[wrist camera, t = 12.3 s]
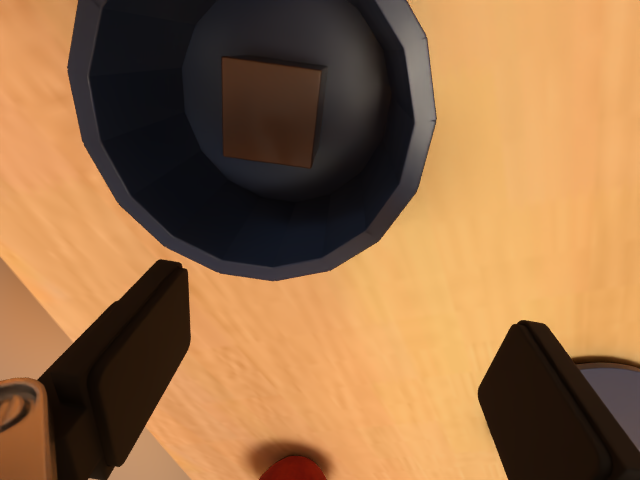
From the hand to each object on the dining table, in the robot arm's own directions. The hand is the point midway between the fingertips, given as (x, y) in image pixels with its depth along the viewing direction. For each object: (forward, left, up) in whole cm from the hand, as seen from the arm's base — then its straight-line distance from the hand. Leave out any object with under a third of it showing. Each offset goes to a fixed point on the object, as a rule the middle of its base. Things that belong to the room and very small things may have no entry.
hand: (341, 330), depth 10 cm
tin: (-4, -4, -14) cm, 15 cm away
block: (-4, -4, -14) cm, 15 cm away
